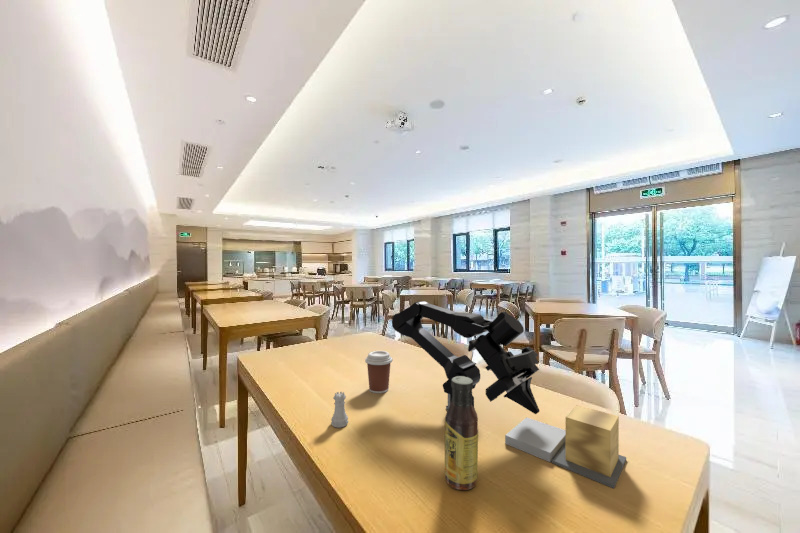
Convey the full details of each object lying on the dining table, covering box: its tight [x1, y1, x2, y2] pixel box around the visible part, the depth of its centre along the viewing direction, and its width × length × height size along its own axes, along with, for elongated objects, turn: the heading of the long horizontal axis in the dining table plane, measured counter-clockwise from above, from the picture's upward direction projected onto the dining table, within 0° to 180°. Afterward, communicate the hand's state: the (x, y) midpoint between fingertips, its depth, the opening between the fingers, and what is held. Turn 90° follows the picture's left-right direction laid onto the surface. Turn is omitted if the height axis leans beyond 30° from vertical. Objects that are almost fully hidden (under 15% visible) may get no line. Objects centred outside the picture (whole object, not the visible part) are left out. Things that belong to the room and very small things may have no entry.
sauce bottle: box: [444, 376, 479, 491], centre depth 61 cm, size 6×6×20 cm
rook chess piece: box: [330, 391, 349, 429], centre depth 84 cm, size 4×4×8 cm
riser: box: [504, 417, 566, 463], centre depth 75 cm, size 10×12×2 cm
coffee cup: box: [364, 350, 393, 394], centre depth 107 cm, size 9×9×12 cm
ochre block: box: [565, 404, 620, 477], centre depth 67 cm, size 8×8×9 cm
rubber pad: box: [551, 443, 627, 489], centre depth 67 cm, size 11×12×1 cm
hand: (537, 412), depth 75 cm, fingers closed
